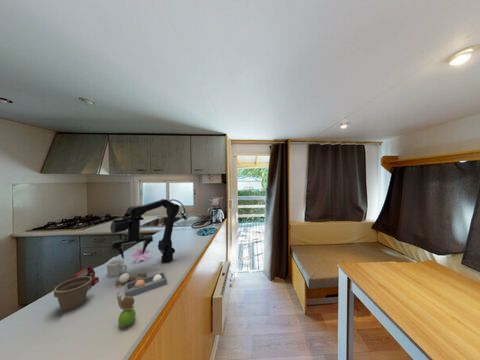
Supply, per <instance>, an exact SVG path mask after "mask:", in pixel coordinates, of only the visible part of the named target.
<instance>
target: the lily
mask: <svg viewBox="0 0 480 360" xmlns="http://www.w3.org/2000/svg"><path fill="white" fill-rule="evenodd" d="M147 248H148V246H147V247H146V249H145V252H144V254H143V255H142V250H143V245H142V246H141V247H140V248H139V247H136V246H135V247H134V251H135V252H133V253H132V254H130V255H129V256H128V257H129V259H130V258H132V259H135V264H138V263H140V261H141V260H142V261H145V262H147V261H149V258H148V257H149V256H148V255H149V254H150V253H152V250H147Z"/></svg>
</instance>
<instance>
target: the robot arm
mask: <svg viewBox="0 0 480 360" xmlns="http://www.w3.org/2000/svg"><path fill="white" fill-rule="evenodd" d="M162 207H163V208H165V209H166V211H165V212H166V217H167V218H166V221H165V222H166V223H165V226H164V227H165V228H164V232H163V235H162V238H161V240H159V241H158V245H157V249H158V251H159V252H160V253H161V256H160V257H161V258H160V262H161V264H165V263H166V264H168V263H171V262H172V261H173V262H174V254H175V252H176V249H175V248H174V247H173V242H172V235H173V229H174V225H175V224H174V223H175V219H176V216H177V215H178V214H179V210H180V205H179V204H177V203H174V202H172V201H170V200H167V199H166V198H165V199H164V198H162V199H159V200H156V201H153V202H150V203H146V204H143V205H134V206H133V205H132V206H129V207H128V208H127V209H126V212H125V214H124V215H123V216H122V217H121V218H120V219H112V222H111V224H110V227H109V228H110V232H111V234H115V233H116V234H117V233H121V232H124V237H123V238H127V239H126V240H122V239H117V240H114V241H112V246H111V247H112V248H111V249H112V250H116V251H118V253H120V256H121V259H124V260H125V253H124V248H123V246H125V245H129V244H134V243H140V242H143V243H142V246H143V250H142V255H143V254H144V252H145V249H146V247H147V248H148V246H149V244H151V243H152V242H154V237H153V236H152V234H149V235H146V234H145V235H144V237H140V236H141V234H140V233H141V221H142V220H145V218H144V217H143V215H145V214H146V213H147V212H150V211H153V210H155V209H157V208H162ZM146 250H147V249H146Z"/></svg>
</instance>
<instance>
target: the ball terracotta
mask: <svg viewBox="0 0 480 360" xmlns="http://www.w3.org/2000/svg"><path fill="white" fill-rule="evenodd" d="M145 285H146V284H145V281H144V280H138V281H137V282H136V283H135V286H134V287H133V288H134V289H136V288H139V287H142V286H145Z"/></svg>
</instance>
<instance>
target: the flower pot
mask: <svg viewBox="0 0 480 360" xmlns="http://www.w3.org/2000/svg"><path fill="white" fill-rule="evenodd" d="M91 284H92V278H91V277H89V276H83V277H78V278H74V279H73V278H72V279H68V280H66V281H63V282H61V283H60V284H58V285H56V286H55V288H54V289H53V297H54V298H56V299H57V301H58V304H59V307H60V310H61V312H62V313H65V312H67V311H71V310H75V309H76V308H78V307H80V306H81V305H82V304H83V303H84V302H85V300H86V297H87V294H88V291H89V290H88V288H89V286H90V285H91Z"/></svg>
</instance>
